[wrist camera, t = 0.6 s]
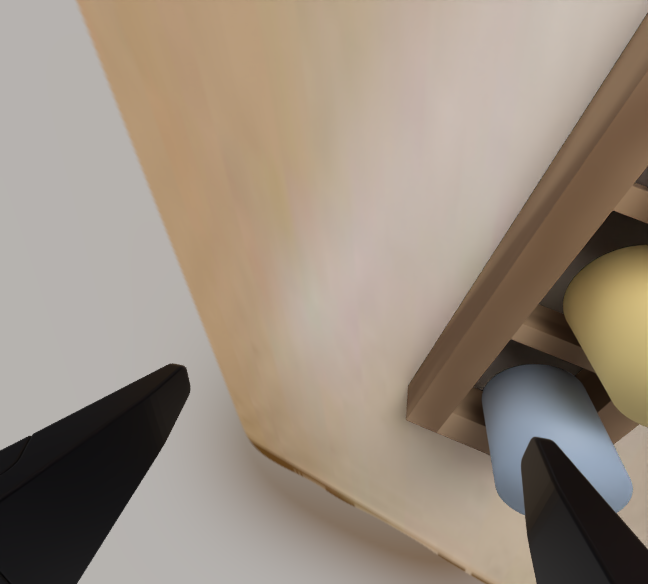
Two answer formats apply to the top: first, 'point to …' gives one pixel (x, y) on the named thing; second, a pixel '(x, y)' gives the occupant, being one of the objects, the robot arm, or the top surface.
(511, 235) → the wooden compartment tray
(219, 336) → the top surface
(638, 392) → the button ochre
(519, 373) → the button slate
